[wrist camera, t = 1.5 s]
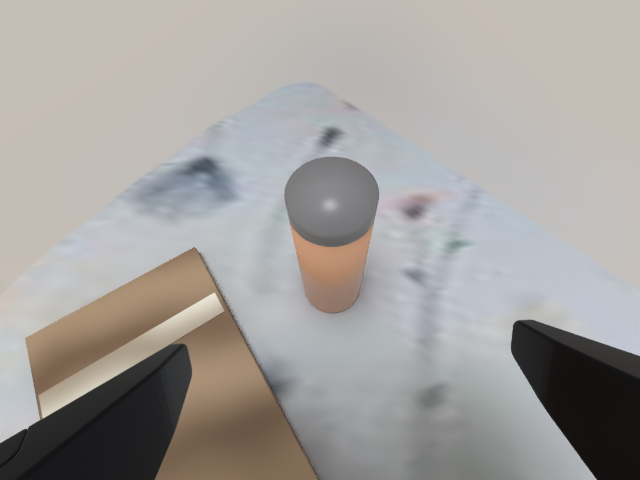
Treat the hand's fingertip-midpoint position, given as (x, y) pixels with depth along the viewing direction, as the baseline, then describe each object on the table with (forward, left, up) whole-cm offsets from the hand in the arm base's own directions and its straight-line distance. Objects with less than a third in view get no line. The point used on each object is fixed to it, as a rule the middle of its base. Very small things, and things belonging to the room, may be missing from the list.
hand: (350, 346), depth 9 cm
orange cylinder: (+6, -3, -13) cm, 14 cm away
